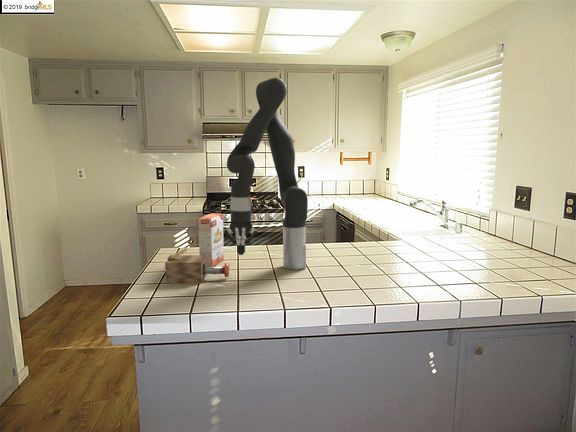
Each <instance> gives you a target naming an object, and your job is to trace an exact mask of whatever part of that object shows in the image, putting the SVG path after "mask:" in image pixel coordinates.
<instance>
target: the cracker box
mask: <svg viewBox="0 0 576 432" xmlns="http://www.w3.org/2000/svg"><path fill="white" fill-rule="evenodd" d="M197 222H198V243H199V245H198V247H199V249H198V251H199V255H206V266H207V267H216V266H217V265H218V264H220V263H221V262H222V261H223V260H224V259H225V258H224V257H225V255H224V253H225V252H224V251H225V250H224V214H223V213H214V212H213V213H209V214H207V215H204V216H200V217H199V218H198V221H197Z"/></svg>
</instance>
